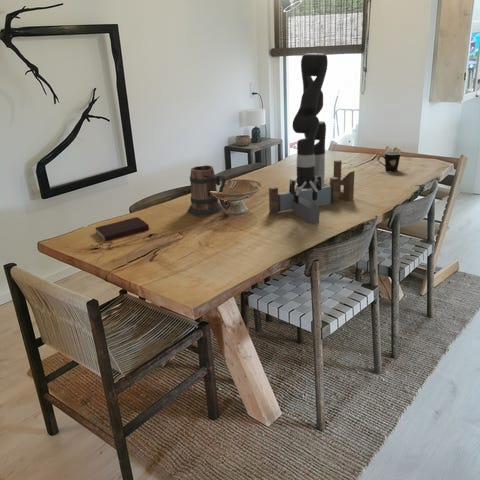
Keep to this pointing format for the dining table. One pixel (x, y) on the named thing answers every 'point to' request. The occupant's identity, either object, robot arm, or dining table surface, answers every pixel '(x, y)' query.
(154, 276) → the dining table surface
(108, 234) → the book
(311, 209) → the block
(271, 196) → the gate frame
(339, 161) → the wooden block
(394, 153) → the coffee mug
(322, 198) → the gate leaf
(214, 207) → the tankard
